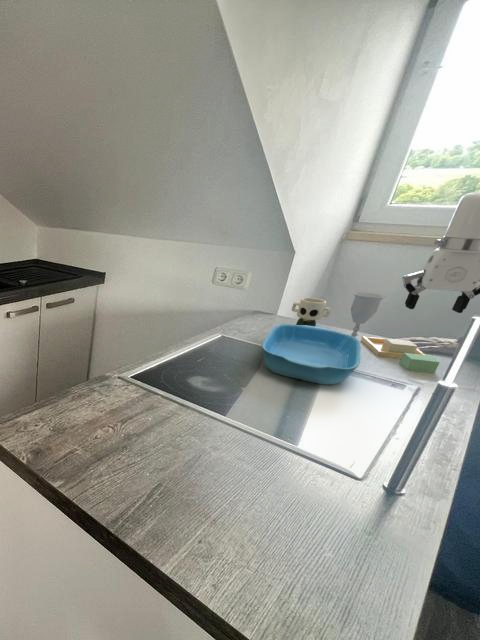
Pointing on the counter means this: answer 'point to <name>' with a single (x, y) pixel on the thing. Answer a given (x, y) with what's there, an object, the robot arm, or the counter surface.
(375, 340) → the backing tray
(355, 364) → the casserole dish
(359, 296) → the chalice
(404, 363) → the green block
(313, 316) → the character mug
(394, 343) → the beige block
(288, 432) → the counter surface
